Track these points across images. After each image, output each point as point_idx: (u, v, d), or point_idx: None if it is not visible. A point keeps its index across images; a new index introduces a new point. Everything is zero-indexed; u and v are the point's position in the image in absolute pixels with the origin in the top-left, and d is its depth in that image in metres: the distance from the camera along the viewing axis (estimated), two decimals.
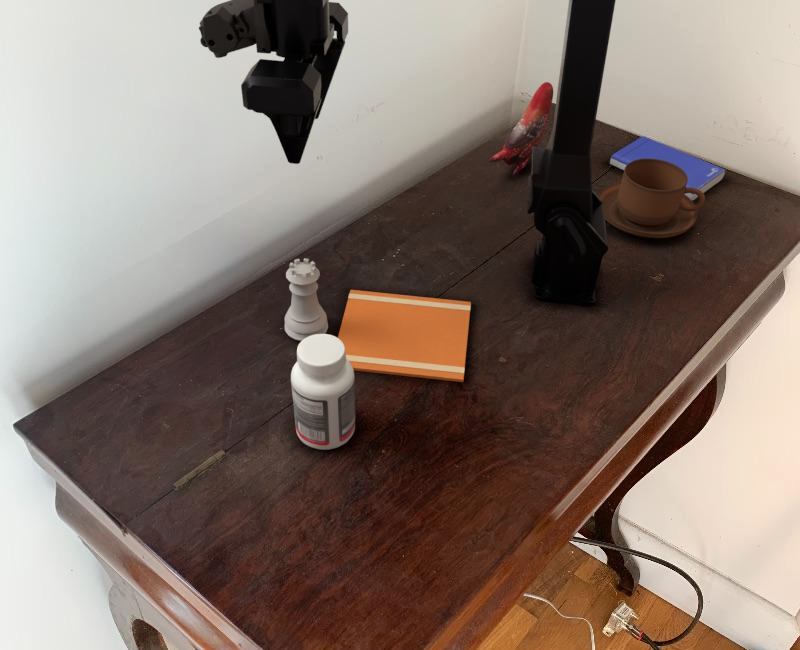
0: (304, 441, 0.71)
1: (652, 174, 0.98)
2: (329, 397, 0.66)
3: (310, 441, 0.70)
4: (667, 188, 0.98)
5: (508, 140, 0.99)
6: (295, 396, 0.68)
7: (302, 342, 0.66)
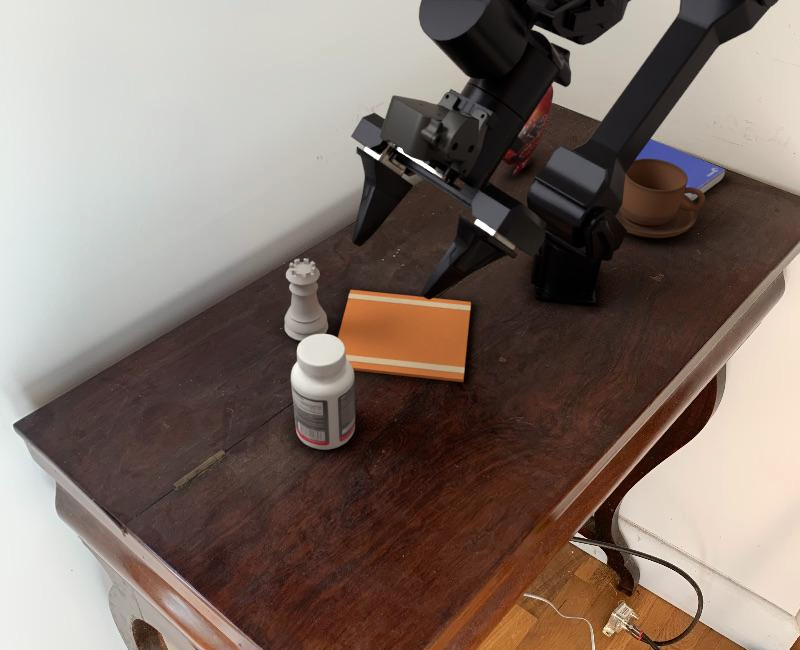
0: (304, 441, 0.71)
1: (652, 174, 0.98)
2: (329, 397, 0.66)
3: (310, 441, 0.70)
4: (667, 188, 0.98)
5: None
6: (295, 396, 0.68)
7: (302, 342, 0.66)
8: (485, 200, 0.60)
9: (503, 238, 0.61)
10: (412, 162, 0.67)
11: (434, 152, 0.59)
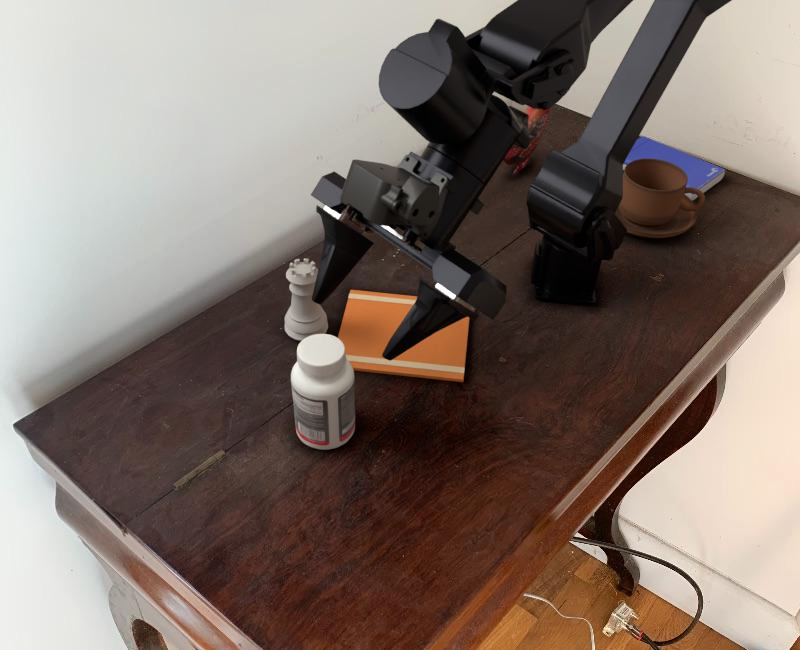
0: (304, 441, 0.71)
1: (652, 174, 0.98)
2: (329, 397, 0.66)
3: (310, 441, 0.70)
4: (667, 188, 0.98)
5: None
6: (295, 396, 0.68)
7: (302, 342, 0.66)
8: (446, 265, 0.59)
9: (464, 301, 0.61)
10: None
11: (394, 217, 0.59)
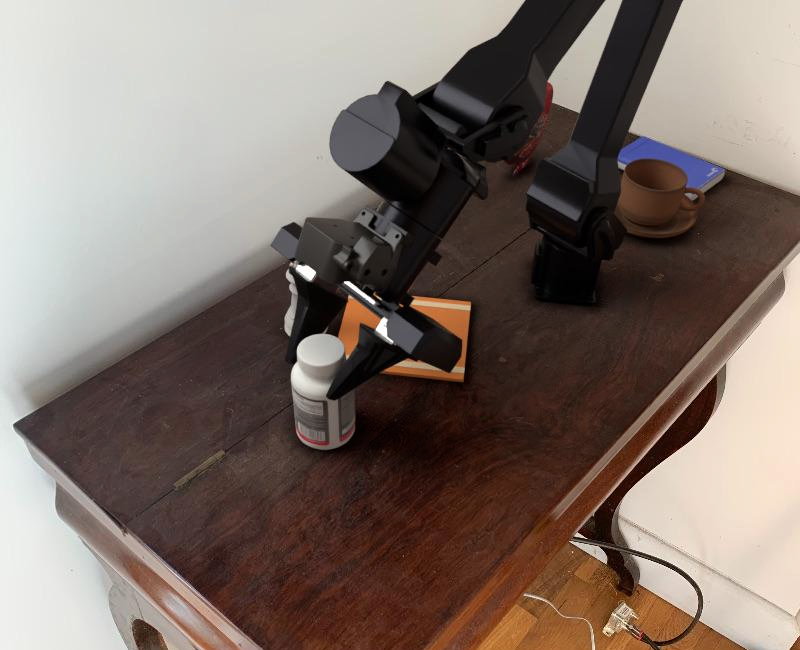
0: (304, 441, 0.71)
1: (652, 174, 0.98)
2: None
3: (310, 441, 0.70)
4: (667, 188, 0.98)
5: None
6: (295, 396, 0.68)
7: (302, 342, 0.66)
8: (399, 322, 0.60)
9: None
10: None
11: (347, 275, 0.59)
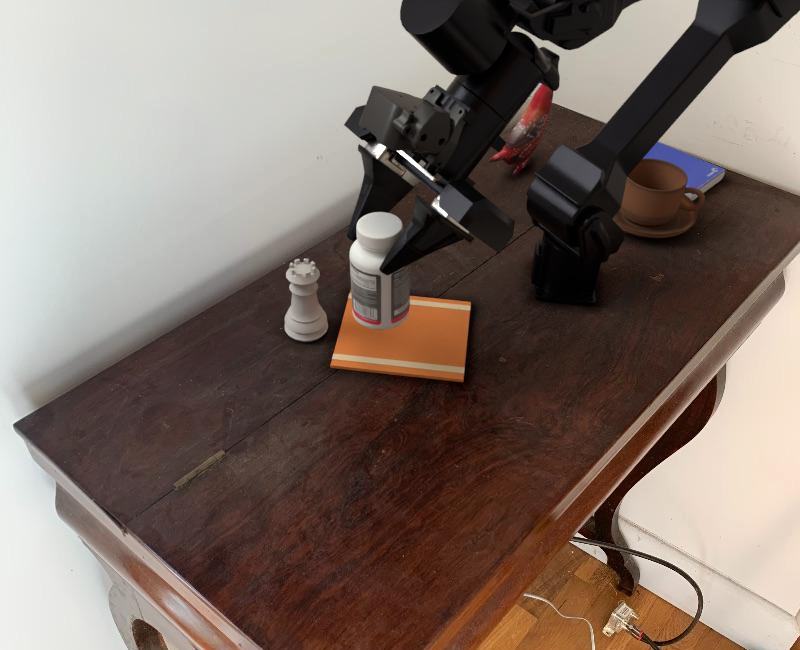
0: (358, 319, 0.74)
1: (652, 174, 0.98)
2: None
3: (363, 319, 0.73)
4: (667, 188, 0.98)
5: (508, 140, 0.99)
6: (352, 270, 0.70)
7: (362, 217, 0.69)
8: (452, 192, 0.61)
9: None
10: (398, 153, 0.69)
11: (406, 142, 0.61)
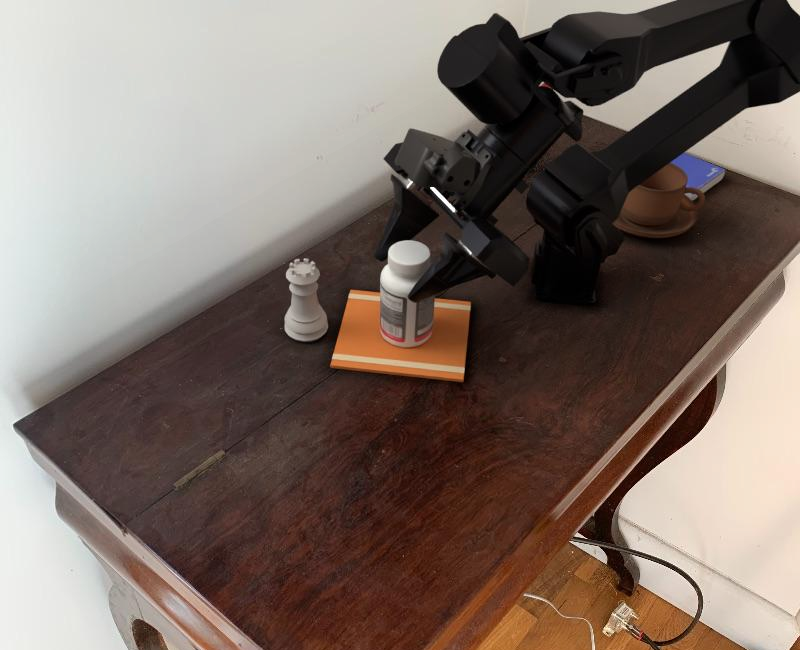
0: (384, 336, 0.80)
1: None
2: None
3: (389, 336, 0.80)
4: (667, 188, 0.98)
5: None
6: (381, 292, 0.77)
7: (394, 244, 0.76)
8: (473, 229, 0.68)
9: None
10: (430, 188, 0.76)
11: (435, 181, 0.68)
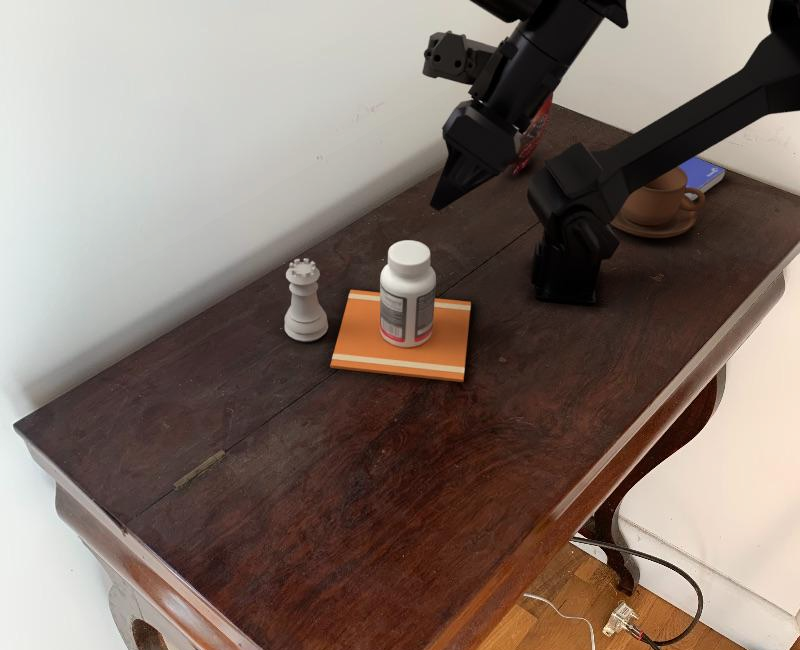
0: (384, 336, 0.80)
1: None
2: (409, 295, 0.75)
3: (389, 336, 0.80)
4: (667, 188, 0.98)
5: None
6: (381, 292, 0.77)
7: (394, 244, 0.76)
8: None
9: None
10: None
11: None
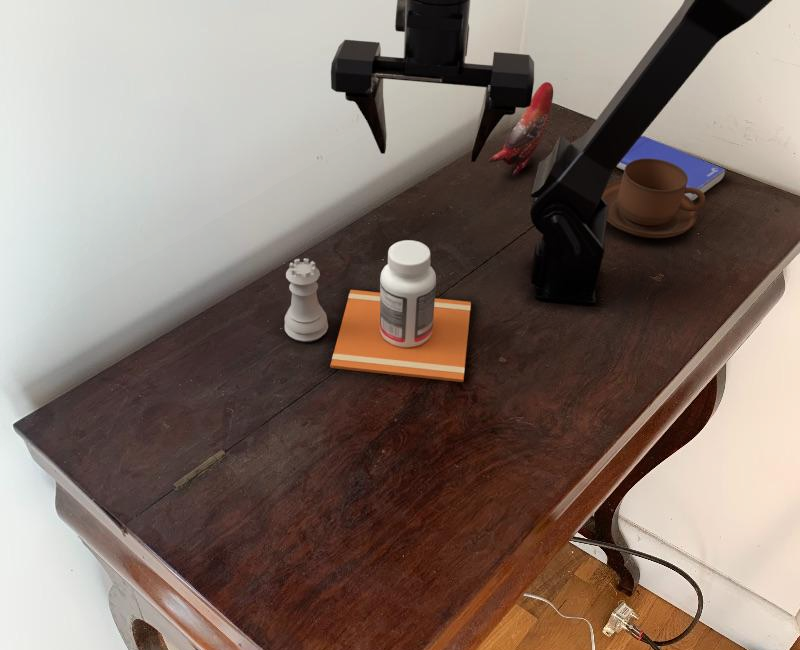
0: (384, 336, 0.80)
1: (652, 174, 0.98)
2: (409, 295, 0.75)
3: (389, 336, 0.80)
4: (667, 188, 0.98)
5: (508, 140, 0.99)
6: (381, 292, 0.77)
7: (394, 244, 0.76)
8: None
9: None
10: None
11: None
